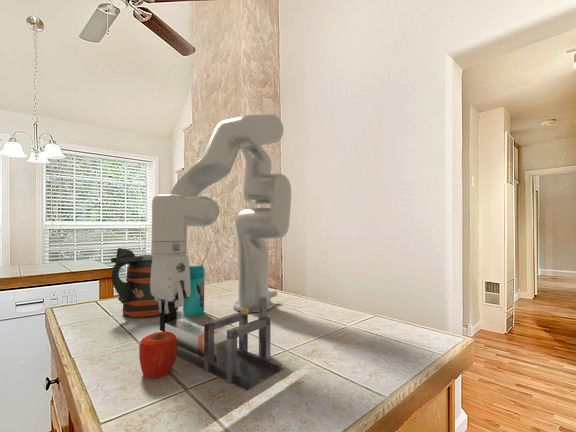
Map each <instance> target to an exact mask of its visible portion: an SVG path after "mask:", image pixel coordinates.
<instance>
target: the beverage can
mask: <svg viewBox="0 0 576 432" xmlns="http://www.w3.org/2000/svg"><path fill="white" fill-rule="evenodd" d="M189 268H190V286H191V294H190V297H189V298H187V299H185V298H183V299H184V306H182V312H183V315H184V316H185V317H193V318H194V317H199V316H202V315H203V314H204V312H205V268H204V263H197V262H195V263H189Z"/></svg>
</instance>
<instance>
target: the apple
mask: <svg viewBox="0 0 576 432" xmlns="http://www.w3.org/2000/svg"><path fill="white" fill-rule="evenodd" d="M138 349H139V350H138V351H139V352H138V353H139V354H138V356H139V365H140V368H141V369H140V370H141V372H142V375H143V377H144V378H147V379H152V380H153V379H154V380H155V379H159V378H162V377H165V376H167V375H168V374H169V373H171V371H172V369H173V367H174V364H175V361H176V359H177V356H176V355H177V338H176V336H175V335H174V334H173V333H171V332H163V331H157V332H153V333H151V334H148V335H146V336H145V337H143V338H142V339H141V340H140V342H139V346H138Z"/></svg>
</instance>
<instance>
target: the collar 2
mask: <svg viewBox="0 0 576 432" xmlns="http://www.w3.org/2000/svg"><path fill="white" fill-rule="evenodd" d="M260 328H261V358H263V359H269V360H271V317H269V316H267V317H264V318H261V319H259V318H258V319H255V320H252V321H250V322H249V321H248V323H246V324H244V325H241V326H239V325H238V326H236V327H233V328H229V329H227V330H226V335H227V378H226V380H225V381H226V382H227V383H229V384H231V385H232V384H233V382H235V381H236V375H237V348H238V338H239V337H240V336H242V335H245V334H247V333H248V334H249V333H252V332H254V331H259V329H260Z"/></svg>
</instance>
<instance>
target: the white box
mask: <svg viewBox="0 0 576 432" xmlns="http://www.w3.org/2000/svg"><path fill="white" fill-rule="evenodd" d="M165 332H171V333H173V334H174V335H175V336H176V338H177V346H180V347H182V348H184V349H186V350H188V351H191V352H193V353H195V354H197V355H200V356H202V357H204V326H203V325H200V324H198V323H195V322H191V321H189V320H187V319H184V318H179V319H177V320H175V321H171V322H167V323H165ZM214 362H215V363H218V364H222V363H225V362H227V333H223V332H220V331H218V330H216V329H214Z"/></svg>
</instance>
